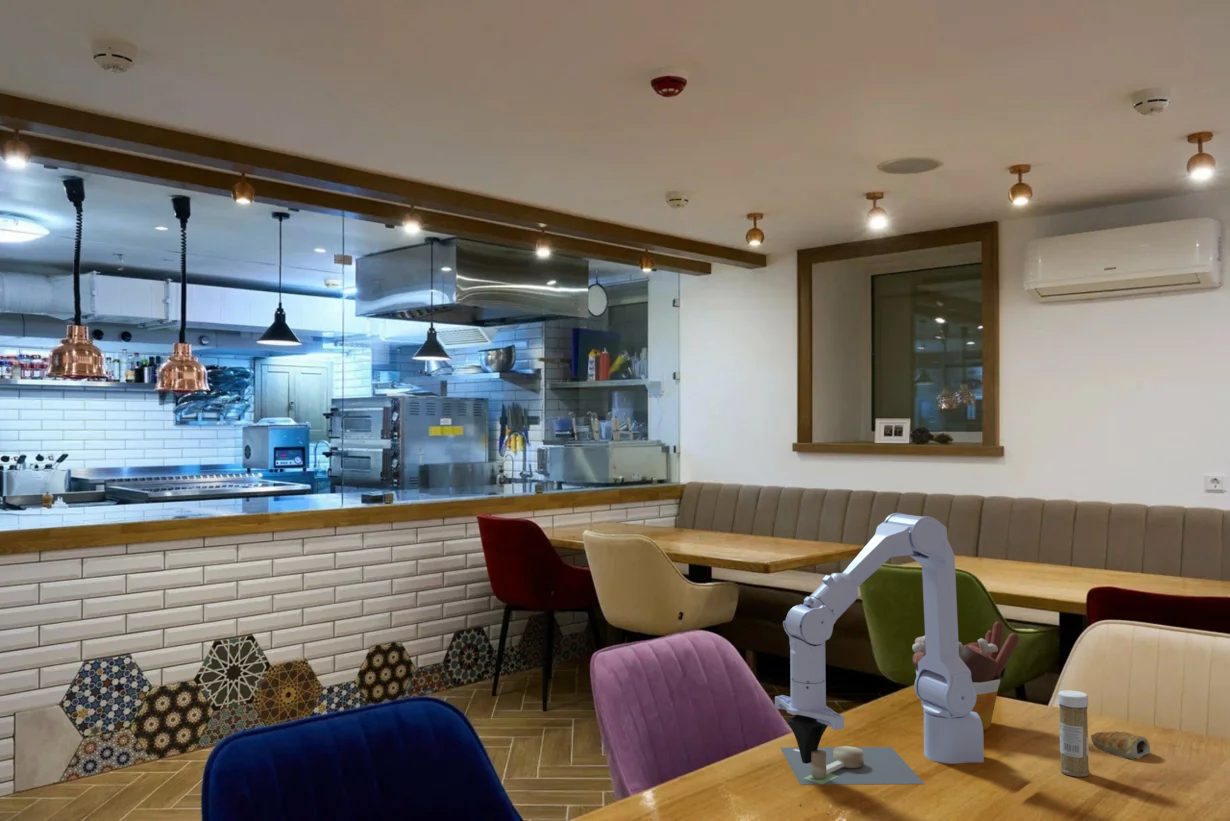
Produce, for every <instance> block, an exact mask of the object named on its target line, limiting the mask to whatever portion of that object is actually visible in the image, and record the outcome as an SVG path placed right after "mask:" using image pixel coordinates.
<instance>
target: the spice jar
mask: <svg viewBox="0 0 1230 821" xmlns="http://www.w3.org/2000/svg"><path fill="white" fill-rule="evenodd" d="M1057 695H1058V706H1059V752H1060V766H1059V770H1060V772H1061V773H1063V774H1065V775H1068V776H1070V777H1074V778H1075V777H1077V778H1083V777H1084V778H1085V777H1088V776H1089V774H1090V769H1089V764H1090V763H1089V755H1090V750H1089V748H1090V746H1089V736H1088V735H1089V733H1088V732H1089V730H1088V729H1089V728H1088V726H1089V724H1088V722H1089V721H1088V706H1089V696H1088V694H1087V693H1085V692H1082V691H1078V690H1070V689H1069V690H1067V689H1065V690H1061V691H1059V692H1058V694H1057Z"/></svg>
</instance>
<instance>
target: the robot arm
mask: <svg viewBox="0 0 1230 821" xmlns="http://www.w3.org/2000/svg"><path fill="white" fill-rule="evenodd" d="M903 556H904V557H905V556H909V557H910V558H912V559H913V560H915V562H916V563H918V564H919V565H920V566H921V569H922V570H921V571H922V572H921V573H922V576H921V577H922V593H923V614H924V615H923V618H924V619H923V620H924V636H925V644H926V655H925V656H924V657H923V658H922V659H921V660H920V661H919V662H918V674H917V675H916V677H915V680H914V685H913V686H914V692H915V695H916V697H917V698H918V699H919V700H920V701H921V708H923V754H924V757H925V758H926V759H928V760H930V761H933V762H937V763H939V764H940V763H941V764H948V765H949V764H950V765H951V764H952V765H953V764H955V765H956V764H965V763H984V762H985V761H984V760H985V759H984V758H985V757H984V756H985V755H984V752H985V751H984V749H985V747H984V746H985V745H984V742H985V741H984V731H983V726H982V722H981V719H980V717H979V715H978V714H977V713H976V712H971V711H972V709H973V708H974V706H975V703H976V699H977V693H976V689H975V687H974V685H973V683H972V679H971V671H970V670H969V668H968V667H967V666H966V665H965V663H964V662H963V661H962V659H961V658H960V657H959V643H958V642H959V624H958V623H959V622H958V602H957V581H956V577H957V576H956V559H955V558H956V557H955V553H954V551H953V549H952V546H951V544H950V542H949V540H948V528H947V527H946V526H945V525H944V524H943V523H941V522H940V521H939V520H938V519H937V518H935V517H932V516H921V515H914V514H913V515H912V514H905V513H901V512H894V513H891V514H888V516H887V517H886V518H885V519H884V521H883V522H881V523H880V524H878V525H877V527H876V529H875V534H874V535H873V537H871V538H870V540H868V542H867V544H865V546H864V547H863V548H862V549H861V551H859V553H858V554H857V555H856V556H855V557H854V559H853V560H852V561H851V562H850V563H849V564H848V566H847V567H846V568H845V569H844V570H843V572H832V573H831V574H830V575H828V574H826V575H825V576H824V577H823V578H822V580H821V581H822V583H821V584H820V585H819V586H818V587H817V588H816V589H815V590H814V591H813V592H812V593H811V594H810V595H809V596H806V597H805V598H804V599H803V603H802V604H801V603H800V604H796V605H795V606H792V608H790V609H789V610H788V612H787V615H786V617H785V620H783V621H782V626H783V629H784V631H785V633H786V635H787V636H788V638H789V648H790V650H789V651H790V652H789V654H790V656H789V659H790V661H789V664H790V665H789V666H790V671H789V672H790V676H789V677H790V678H789V679H790V696H789V695H788V696H787V695H783V694H781V695H777V696H776V695H775V697H774V708H775V709H777V710H785V711H786V713H787V714H790V715H792V716H793V717H790V718H788V721H787V724H788V725H789V727H790V729H791V731H792V733H793V735H794V738H795V740H796V743H797V746H798V747H799V750H800V754H801V758H802V762H803V763H805V764H807V763H811V751H813V750H817V749H818V747H819V745H820V742H821V740H822V737H823V734H824V733H825V731H826V729H827V728H828V727H830V728H831V729H832V730H833V731H838V730H842V729H845V716H844V715H842V714H840V713H838V712H836V711H835V710H833V709H832V708H831V707H829V706H827V701H826V700H827V698H826V697H827V695H826V694H827V693H826V692H827V691H826V690H827V688H826V685H827V684H826V683H827V682H826V679H827V678H826V676H827V675H826V641H827V640H830V639H831V636H832V635H833V630H834V624H835V623H837V620H838V619H839V618H840V617H841V616H842V615H843V614H844V613H845V612H846V611H847V609H849V608H850V607H851V606H852V604H853V603H854V602H855V601H856V600H857V599H858V598H859V587H860V586H861V585H863V583H864V582H866V580H868V578H869V577H871V576H872V575H873V574H874V573H875V572H876V571H877V570H879V569H880V568H881V567H882V566H883V565H884V564H885V563H886V562H887V561H889V559H891V558H894V557H895V558H896V557H903Z"/></svg>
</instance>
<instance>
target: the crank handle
mask: <svg viewBox="0 0 1230 821" xmlns="http://www.w3.org/2000/svg"><path fill="white" fill-rule="evenodd" d="M835 747H836V748H834V749H833V763H831V764H828V765H826V752H825V751H823V750H813V751H811V776H812V777H814V778H825V777H826V774H828V773H831V772H833V771H835V770H837V769H839V768H841V767H845V768H858V767H862V766H863V765H864V752H863V750H861V749H859V748H856V747H857V746H850V745H842V746H835Z"/></svg>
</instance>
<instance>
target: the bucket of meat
mask: <svg viewBox="0 0 1230 821" xmlns="http://www.w3.org/2000/svg"><path fill="white" fill-rule="evenodd" d="M1004 629H1005V628H1004V624H1003V623H1002V622H1001V621H995V622H994V623H993V624H992V630H991V629H988V630H987V632H986V633H985V638H982V637H980V638H979V639H977V642H970V643H967V644H965V645H963V643H962V642H961V641H958V643H959V657H960V658H961V659H962V661H963V662H964V663H965V665H966V666H967V667H968V668H969V670H970V671H971V679H972V683H973V685H974V687H975V689H976V693H977V699H976V703H975V706H974V708H973V709H972V711H971V712H976V713H977V714H978V715H979V717H980V719H981V722H982V726H983V732H984V731H985V730H986V731H987V730H988V729H989V728H990V727H991V725H992V724H991V723H992V720H993V715H994V710H995V706H996V700H997V697H998V696H997V695H998V691H999V687H1000V684H1001V676H1002V672H1003V670H1004V669H1005V667H1006V665H1007V664H1008V662H1009V660H1010V658H1011V656H1012V654H1013V652H1014V650H1015V648H1016V646H1017V645H1018V643H1019V640H1020V638H1019V634H1017V633H1016V632H1015V633H1014V632H1012V633H1010V634H1008V635H1007V638H1006V639H1005V641H1004V643H1003V645H1002V642H1003V641H1002V640H1003V635H1004ZM911 649H912V651H913V652H914V653H913V655H912V664H913V666H914V667H915V674H916V676H917V674H918V662H919V661H920V660H921V659H922V658H923V657H924V656H925V655H926V644H925V635H923V636H919V637H916V638H915V640H914V643H913V644H912V648H911Z"/></svg>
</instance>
